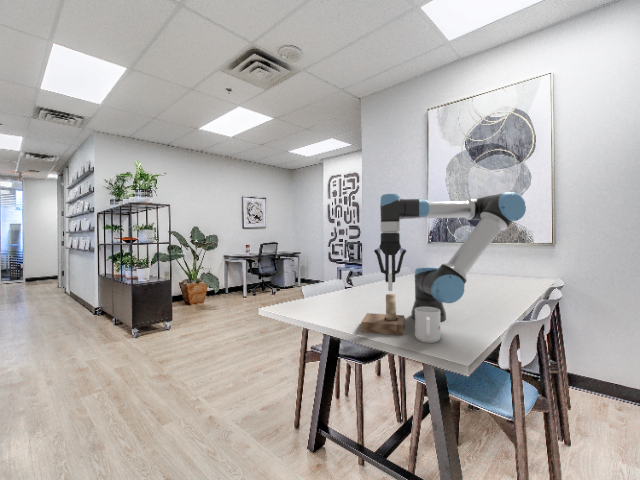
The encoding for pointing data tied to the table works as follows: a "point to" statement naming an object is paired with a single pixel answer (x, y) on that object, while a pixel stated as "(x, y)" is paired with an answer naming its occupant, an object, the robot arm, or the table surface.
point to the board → (382, 324)
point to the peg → (390, 307)
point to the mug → (427, 324)
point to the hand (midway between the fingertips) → (390, 290)
